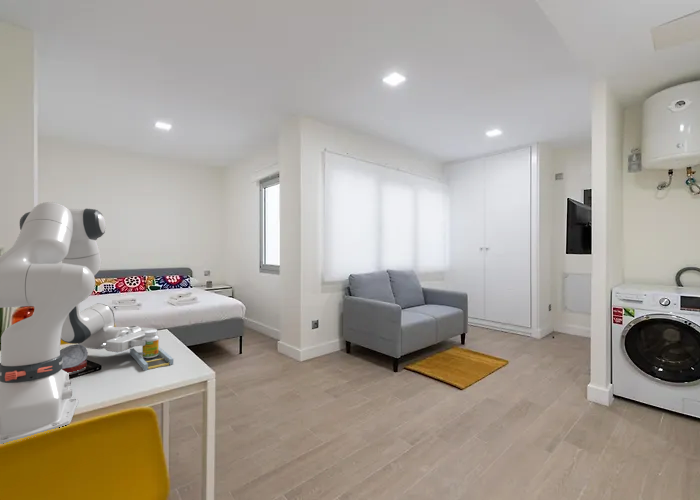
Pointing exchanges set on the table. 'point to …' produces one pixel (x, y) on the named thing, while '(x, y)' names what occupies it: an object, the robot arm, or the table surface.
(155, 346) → the supplement bottle
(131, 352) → the channel
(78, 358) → the canned food
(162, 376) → the table surface
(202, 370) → the table surface
